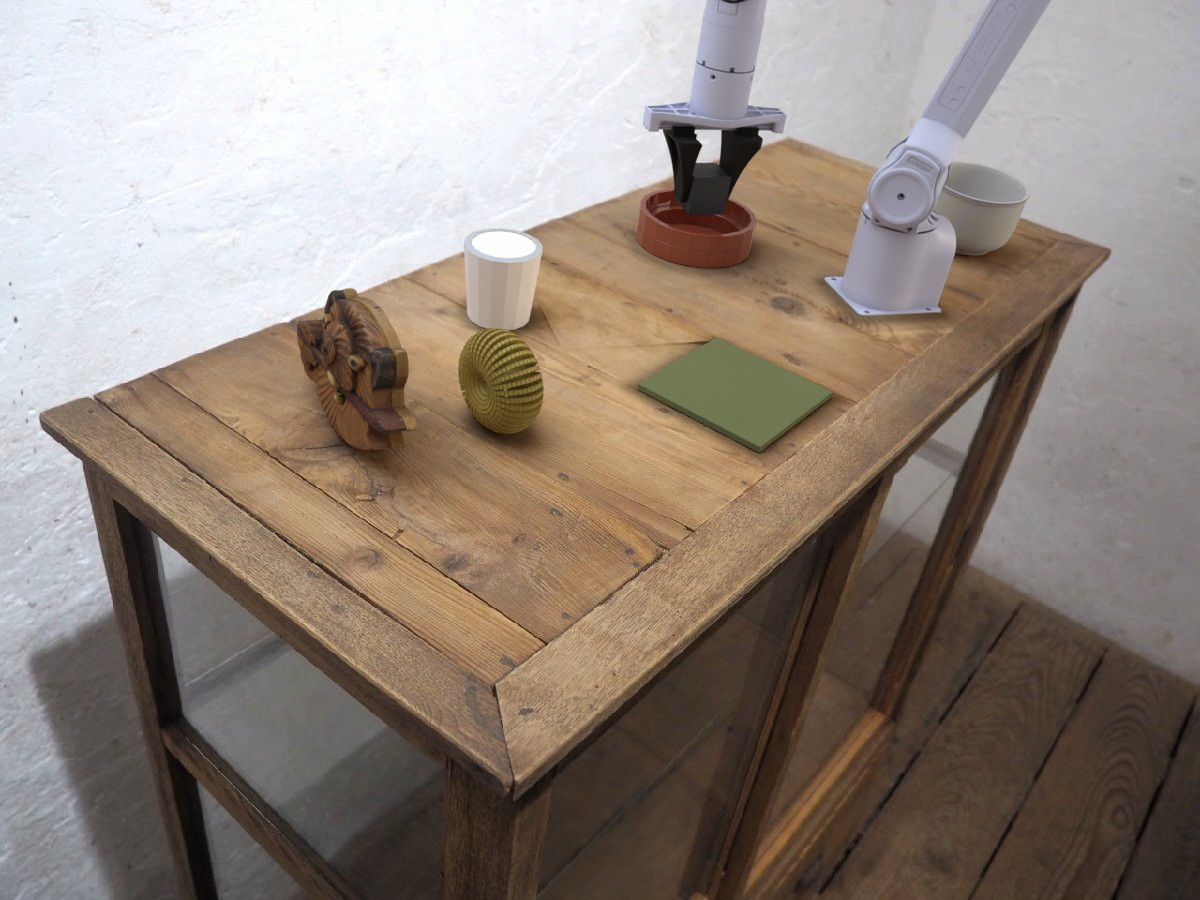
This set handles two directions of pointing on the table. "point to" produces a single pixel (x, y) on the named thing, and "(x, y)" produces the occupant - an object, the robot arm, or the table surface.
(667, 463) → the table surface
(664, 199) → the bowl
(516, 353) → the sculpture
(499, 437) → the table surface
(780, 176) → the table surface
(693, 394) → the pad
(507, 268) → the white cylinder
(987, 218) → the teacup
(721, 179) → the block
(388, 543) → the table surface
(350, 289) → the wooden carving
